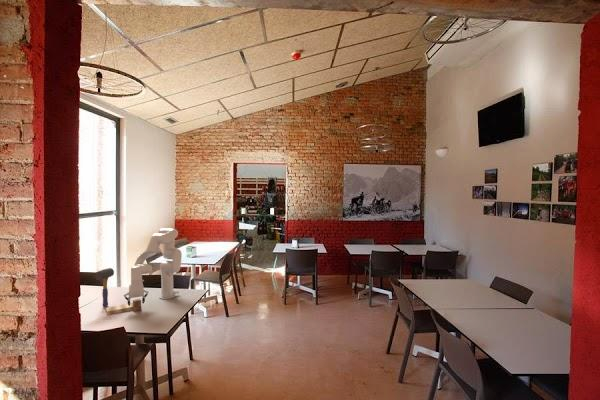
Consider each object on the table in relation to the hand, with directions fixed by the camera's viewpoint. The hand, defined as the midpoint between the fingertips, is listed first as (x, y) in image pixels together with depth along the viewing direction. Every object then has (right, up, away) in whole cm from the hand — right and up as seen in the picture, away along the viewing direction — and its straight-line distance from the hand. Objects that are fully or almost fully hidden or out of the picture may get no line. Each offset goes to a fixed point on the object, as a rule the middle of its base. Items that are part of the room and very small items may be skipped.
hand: (136, 304), depth 247 cm
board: (-11, -5, +2) cm, 12 cm away
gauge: (-2, -5, +4) cm, 7 cm away
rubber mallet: (-29, -5, +9) cm, 31 cm away
